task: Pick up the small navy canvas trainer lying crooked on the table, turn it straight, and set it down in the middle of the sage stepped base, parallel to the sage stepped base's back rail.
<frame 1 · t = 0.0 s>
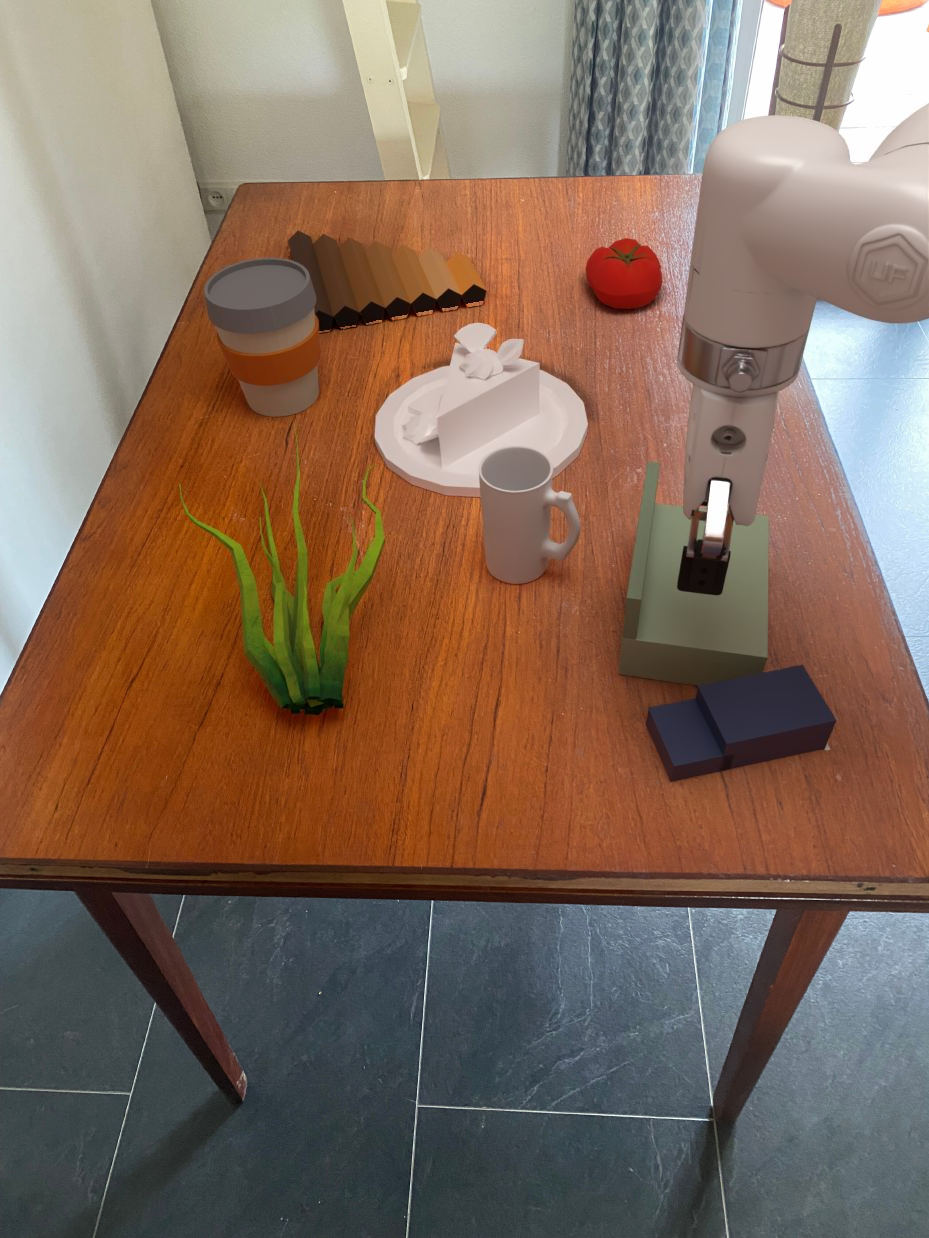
hand: (702, 545, 69), 16 cm above the table, tool pointing down, fingers open, 9 cm apart
sage stepped base: (692, 610, 86), on the table
decorative plant: (294, 605, 89), on the table
trainer: (730, 747, 75), on the table
reusable coffee cup: (283, 397, 114), on the table
dish: (480, 430, 107), on the table
mug: (531, 569, 91), on the table
pan flute: (384, 279, 133), on the table
tomato: (622, 298, 126), on the table
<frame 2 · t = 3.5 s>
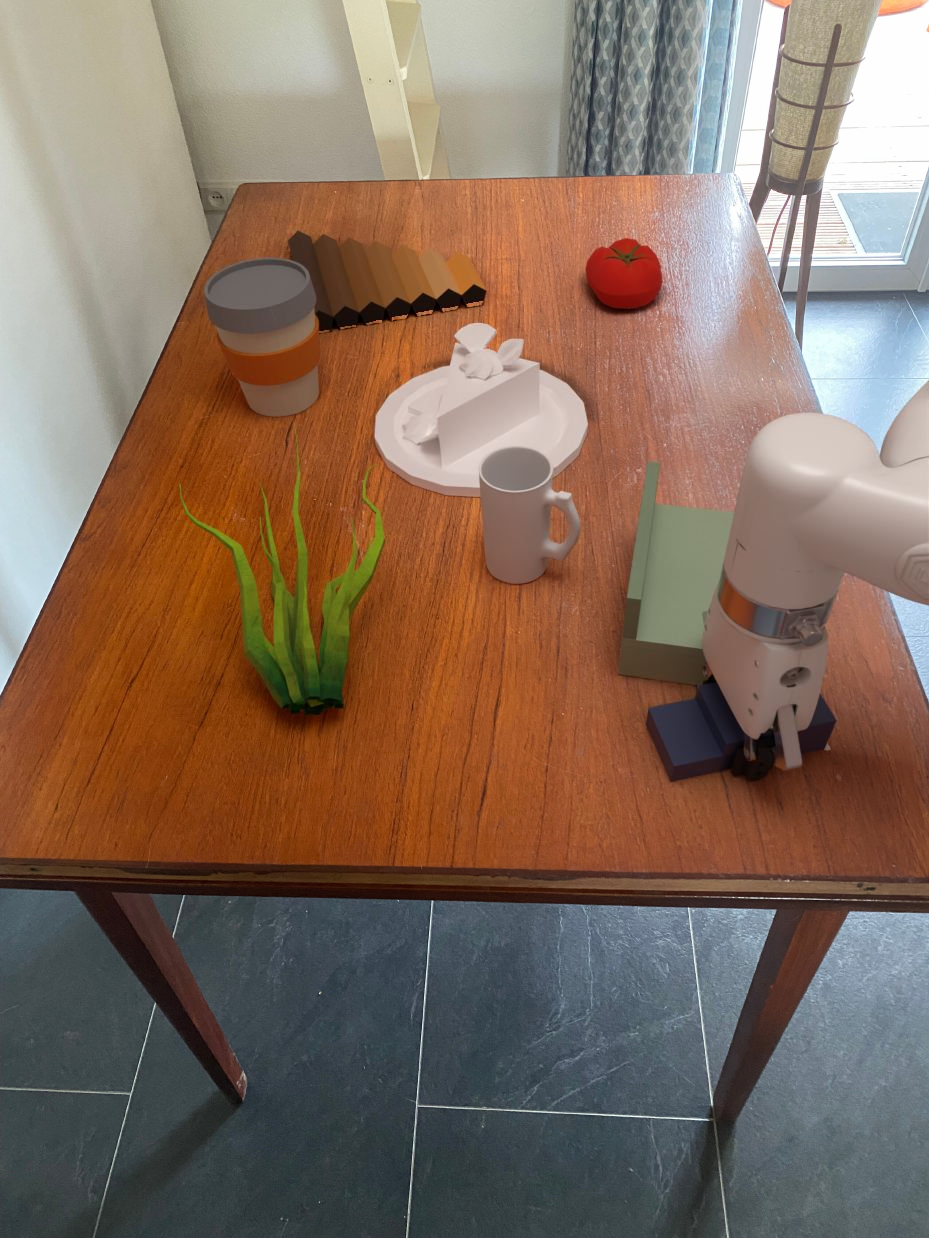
hand: (732, 739, 74), 1 cm above the table, tool pointing down, fingers closed on trainer, 6 cm apart
trainer: (730, 747, 75), on the table, touching gripper
everything else where it was.
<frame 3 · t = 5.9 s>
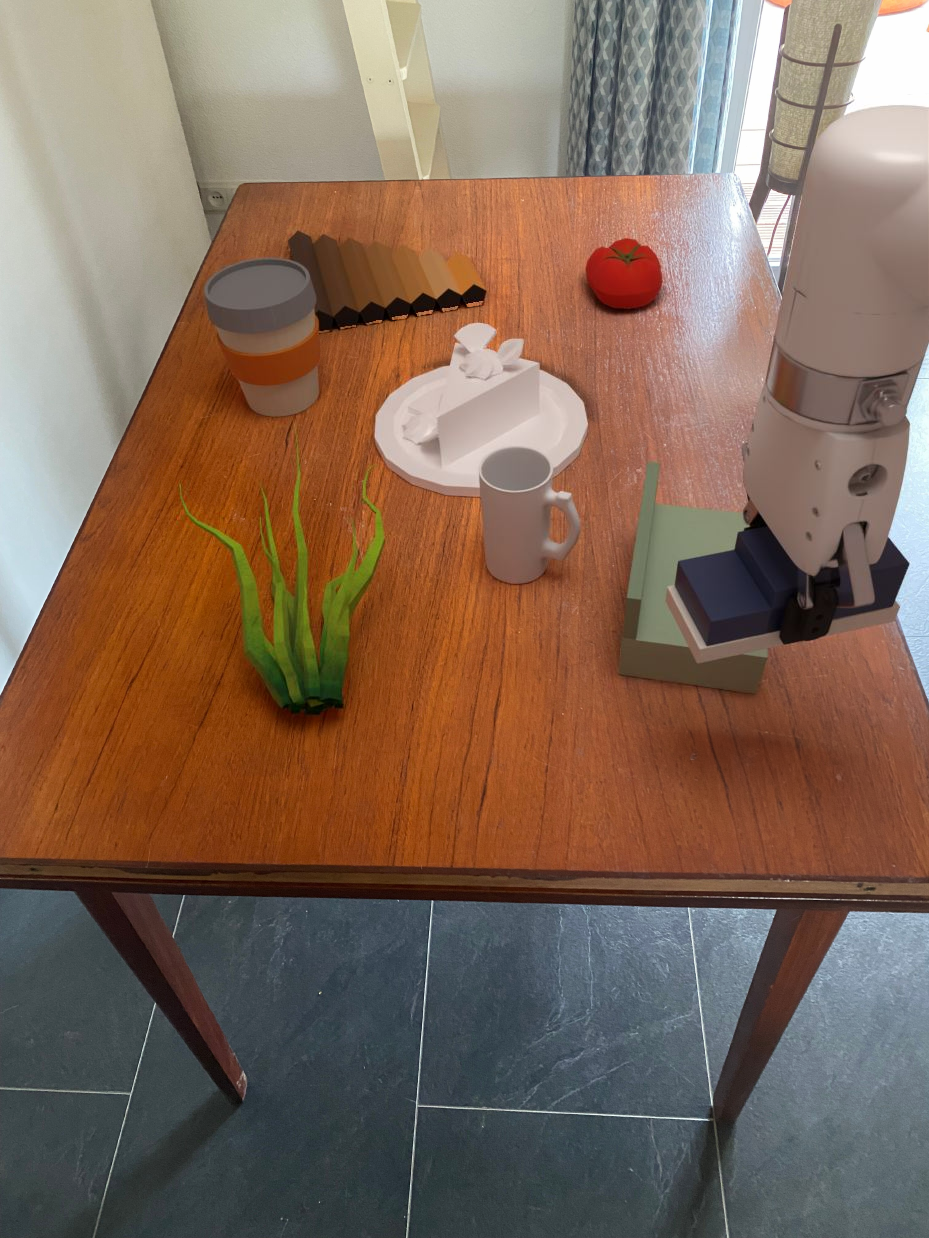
hand: (780, 599, 62), 18 cm above the table, tool pointing down, fingers closed on trainer, 6 cm apart
trainer: (777, 611, 63), point 17 cm above the table, touching gripper
everything else where it was.
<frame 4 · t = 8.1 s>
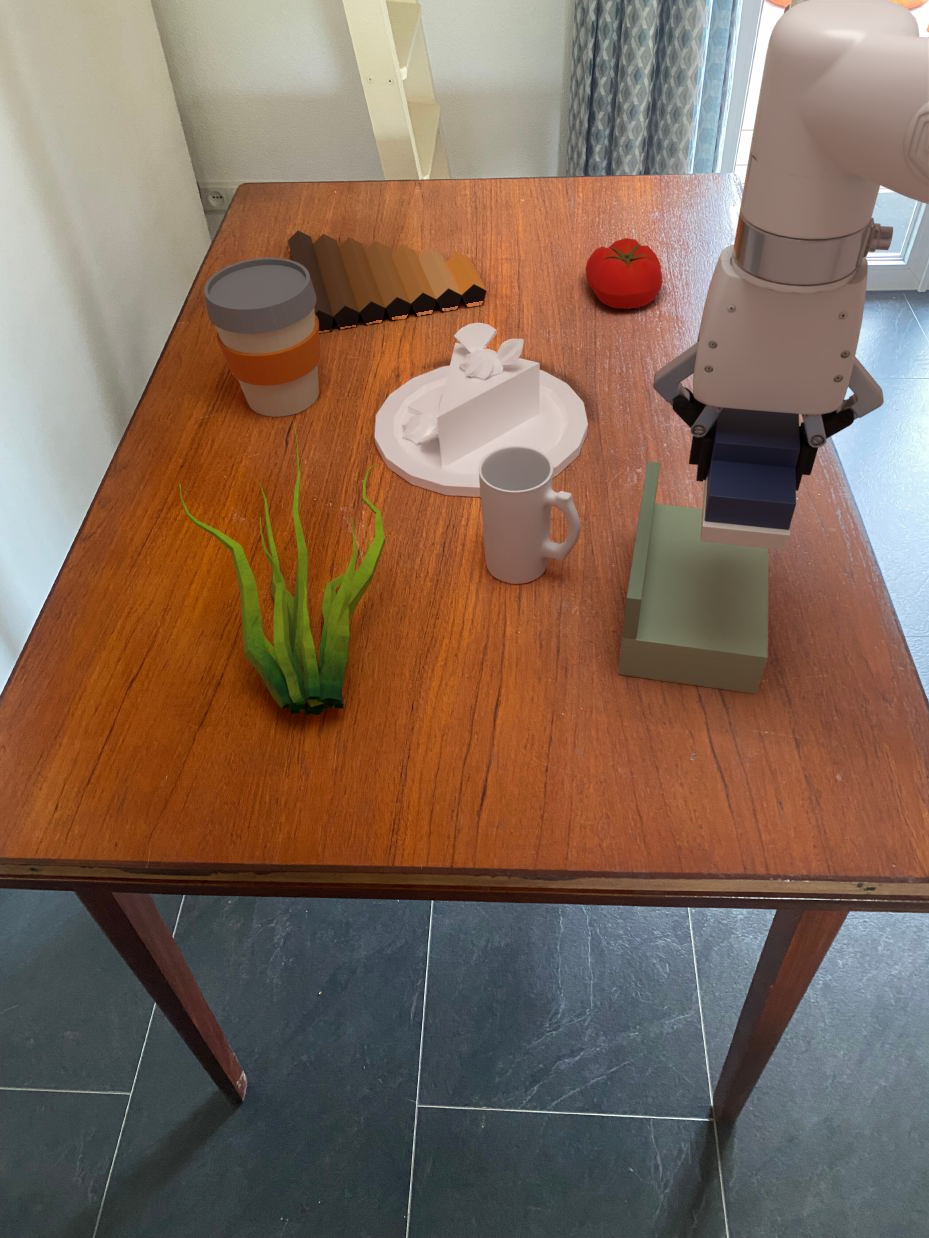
hand: (746, 472, 69), 19 cm above the table, tool pointing down, fingers closed on trainer, 6 cm apart
trainer: (744, 484, 69), point 18 cm above the table, touching gripper
everything else where it was.
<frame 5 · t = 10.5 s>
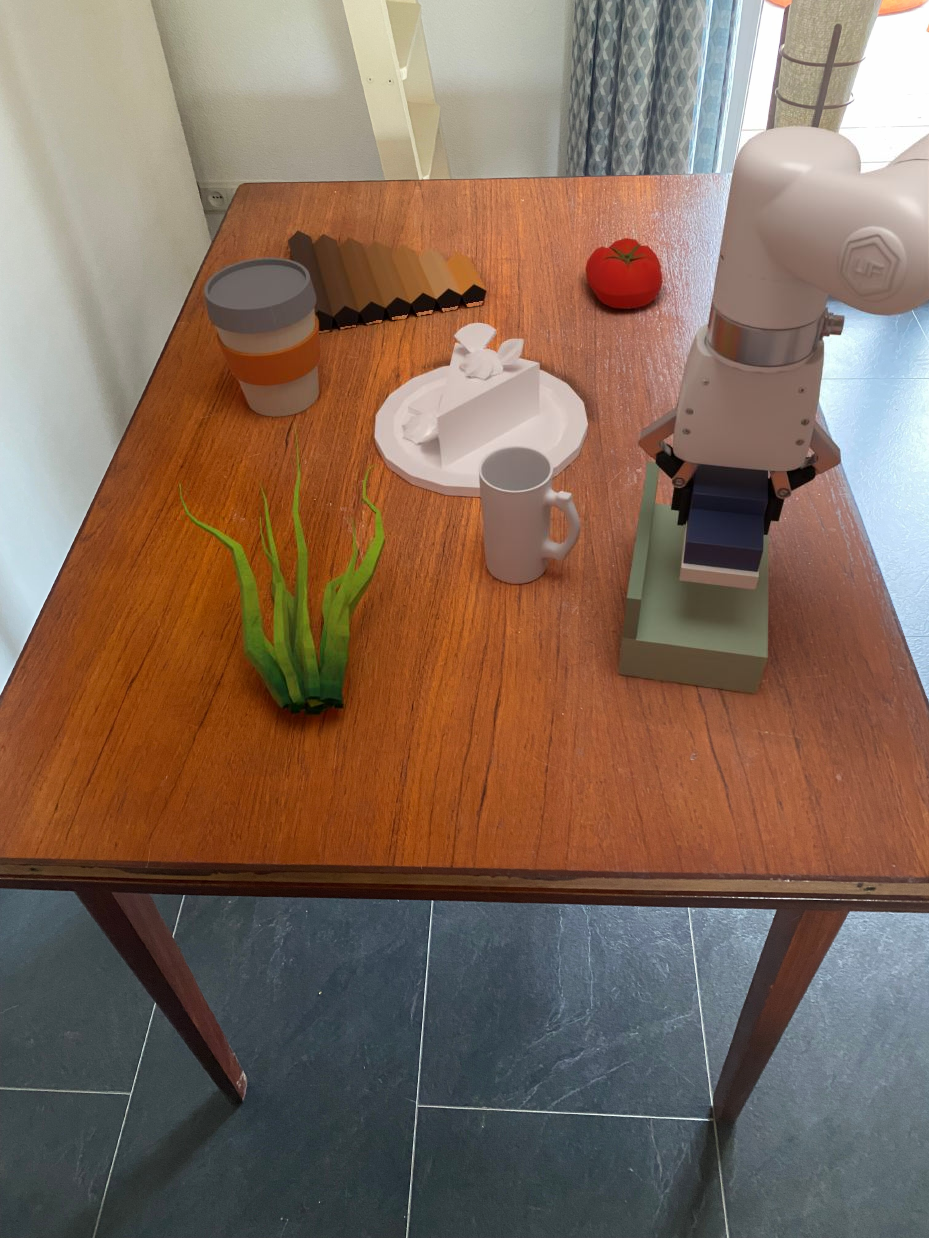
hand: (722, 518, 77), 12 cm above the table, tool pointing down, fingers closed on trainer, 6 cm apart
trainer: (720, 527, 78), point 11 cm above the table, touching gripper
everything else where it was.
when the fingers open (6 cm above the table, at t = 12.6 s): trainer stays where it is, resting on sage stepped base.
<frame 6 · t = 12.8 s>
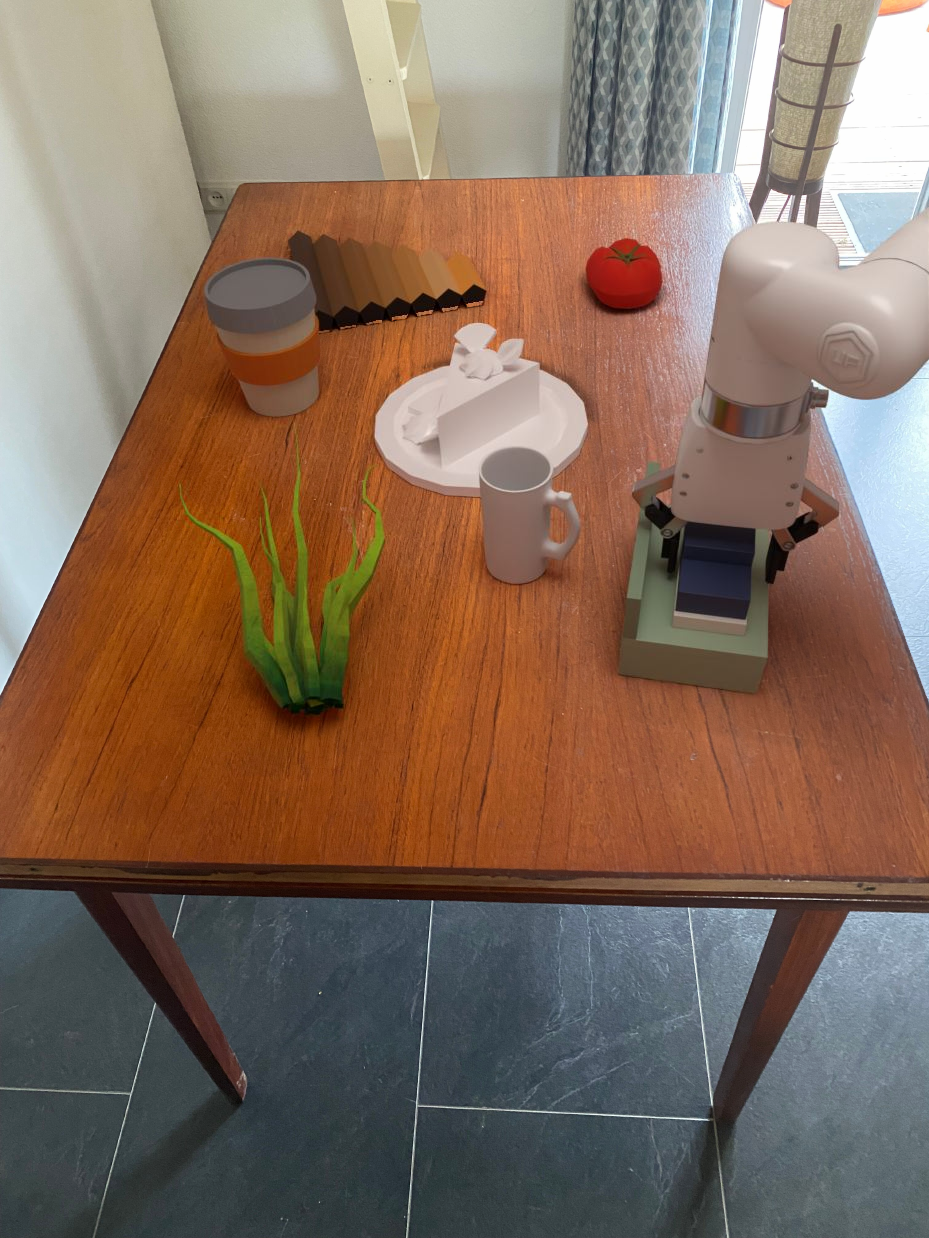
hand: (720, 566, 81), 6 cm above the table, tool pointing down, fingers open, 8 cm apart
trainer: (711, 574, 82), point 5 cm above the table, touching sage stepped base
everything else where it was.
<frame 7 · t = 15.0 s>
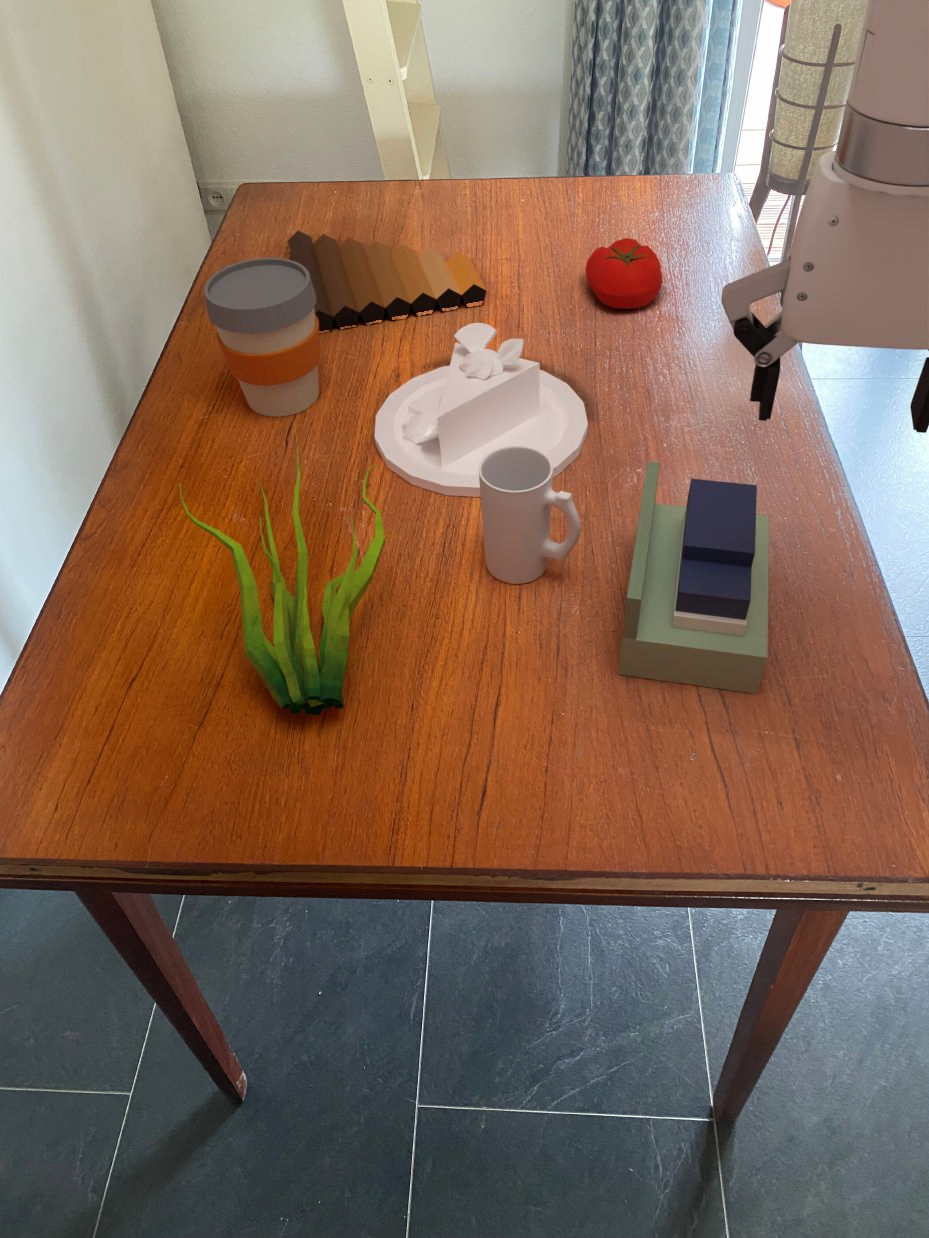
hand: (839, 414, 60), 27 cm above the table, tool pointing down, fingers open, 9 cm apart
nothing on the table moved.
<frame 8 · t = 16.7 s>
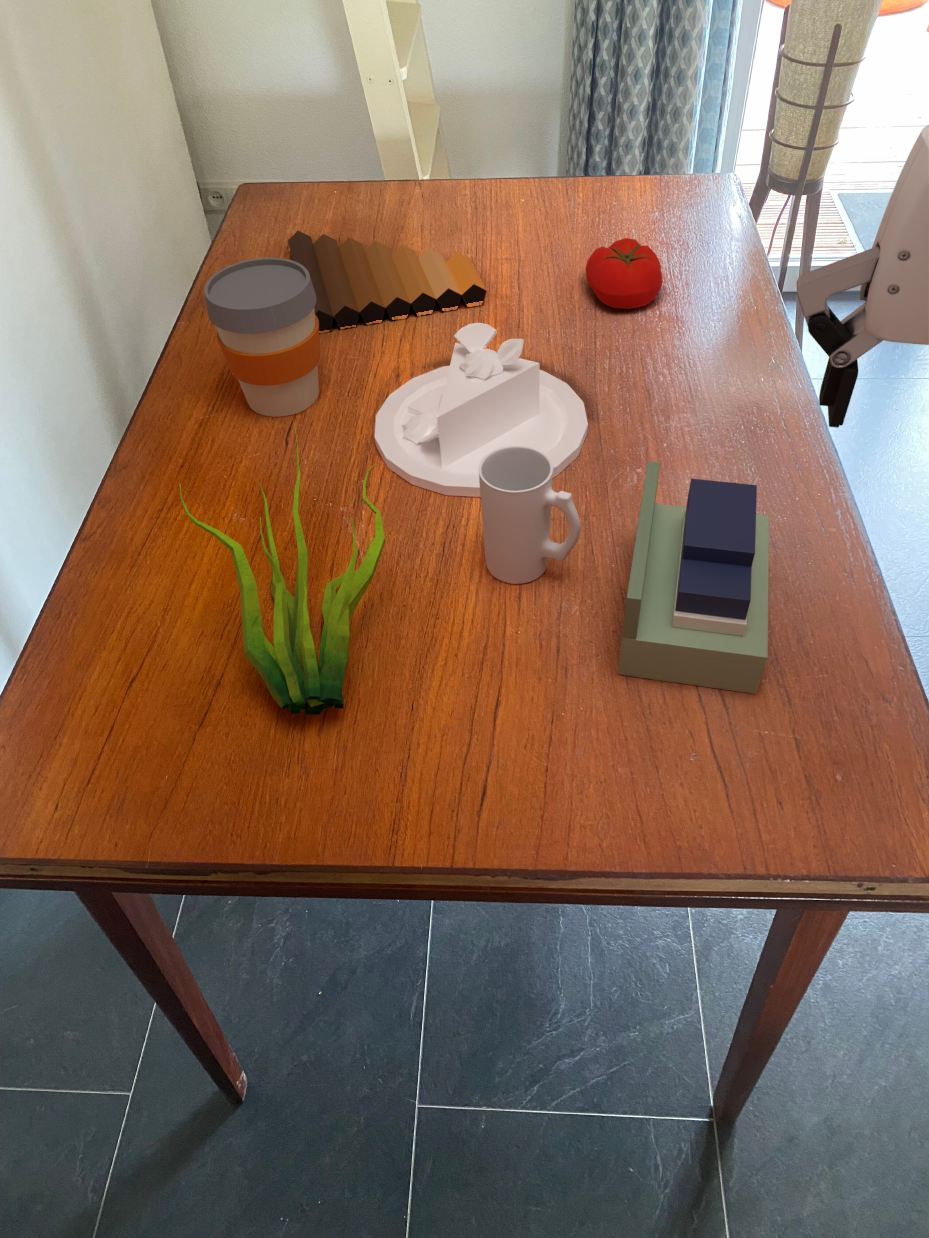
hand: (918, 421, 54), 30 cm above the table, tool pointing down, fingers open, 9 cm apart
nothing on the table moved.
at the end: trainer 0.5 cm off-centre on the sage stepped base, point 5.0 cm above the sage stepped base's base; trainer tilted 0°; dish moved 0.2 cm from its start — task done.
